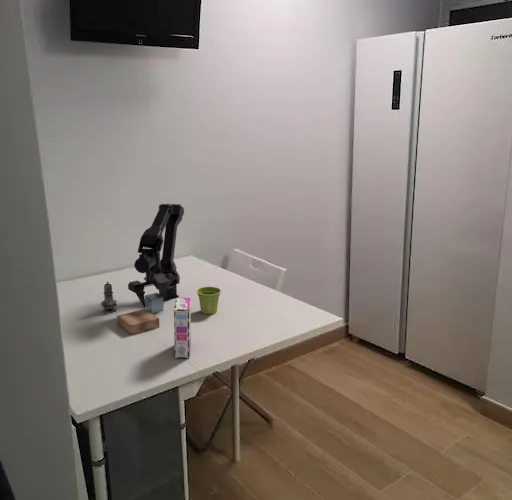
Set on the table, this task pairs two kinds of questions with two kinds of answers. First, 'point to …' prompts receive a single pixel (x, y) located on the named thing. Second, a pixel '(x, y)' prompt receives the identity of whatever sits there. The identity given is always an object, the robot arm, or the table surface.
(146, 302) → the slate tin
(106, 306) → the dark grey tall piece
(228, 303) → the table surface
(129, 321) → the walnut block
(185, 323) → the candy bar box
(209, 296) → the plant pot
